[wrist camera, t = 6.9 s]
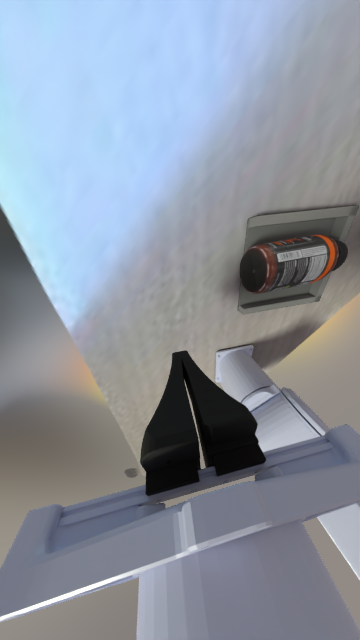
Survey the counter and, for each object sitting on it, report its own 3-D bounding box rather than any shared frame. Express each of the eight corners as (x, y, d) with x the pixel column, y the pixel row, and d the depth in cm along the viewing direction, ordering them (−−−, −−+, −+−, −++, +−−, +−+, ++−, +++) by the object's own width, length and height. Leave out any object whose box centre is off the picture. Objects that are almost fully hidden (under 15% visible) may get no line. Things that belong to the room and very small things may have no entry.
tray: (308, 297, 25) (319, 301, 23) (237, 310, 24) (243, 314, 22) (342, 208, 19) (359, 205, 17) (247, 219, 17) (256, 216, 16)
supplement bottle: (237, 248, 19) (310, 235, 20) (237, 290, 21) (301, 277, 22) (271, 241, 13) (369, 224, 14) (265, 299, 16) (349, 282, 17)
